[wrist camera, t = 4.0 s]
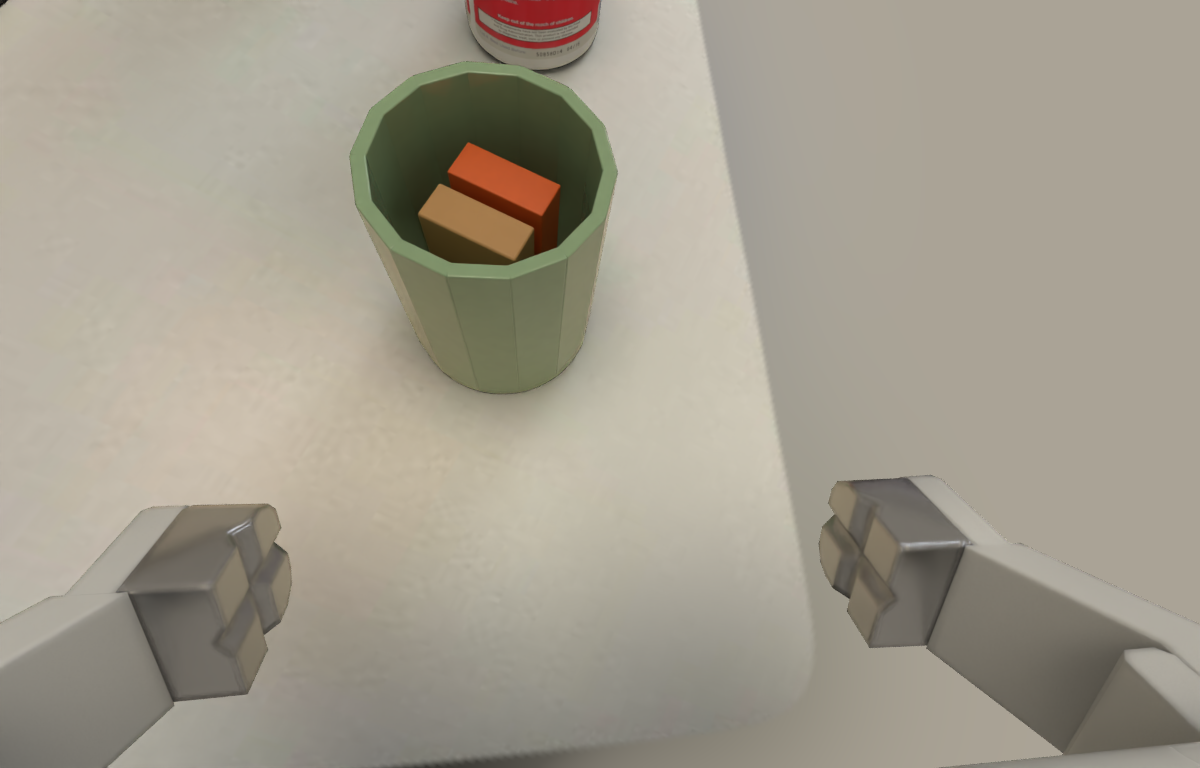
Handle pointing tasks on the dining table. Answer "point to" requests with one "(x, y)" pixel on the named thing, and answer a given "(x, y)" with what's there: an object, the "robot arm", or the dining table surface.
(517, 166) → the block
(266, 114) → the dining table surface
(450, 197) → the block
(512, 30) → the pill bottle
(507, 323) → the green faceted canister
